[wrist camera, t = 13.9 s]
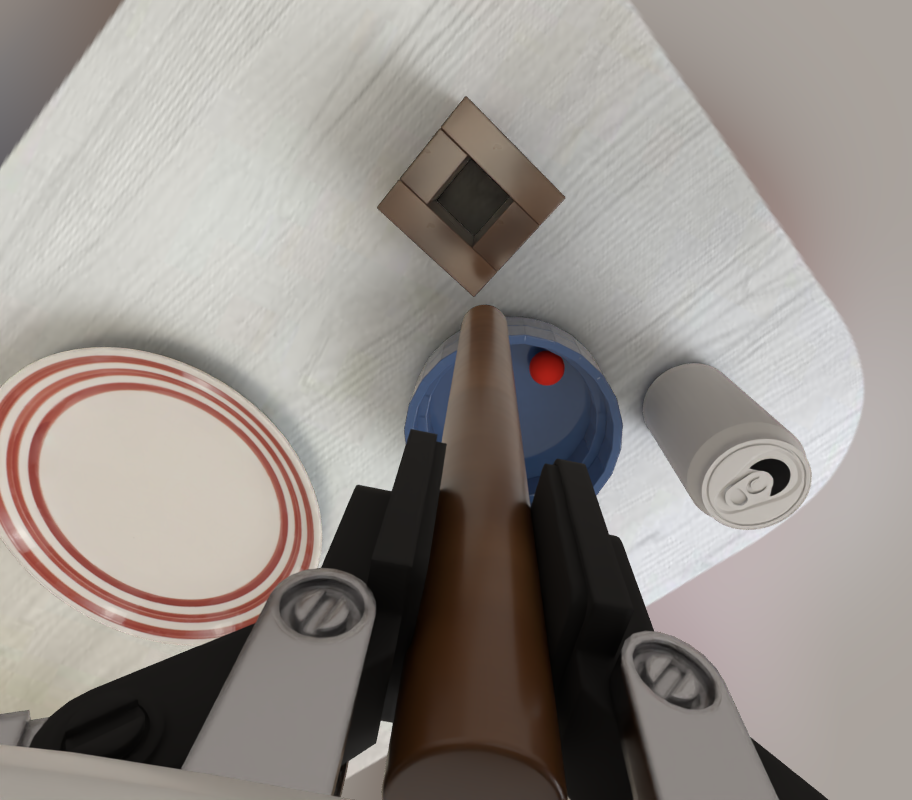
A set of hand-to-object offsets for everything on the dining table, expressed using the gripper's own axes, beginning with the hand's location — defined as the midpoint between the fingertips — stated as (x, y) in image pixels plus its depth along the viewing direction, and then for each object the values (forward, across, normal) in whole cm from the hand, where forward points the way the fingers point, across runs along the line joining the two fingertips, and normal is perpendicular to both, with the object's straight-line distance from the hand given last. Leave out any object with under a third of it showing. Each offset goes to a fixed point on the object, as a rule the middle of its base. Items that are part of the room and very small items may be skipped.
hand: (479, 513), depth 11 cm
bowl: (+29, -4, +10) cm, 31 cm away
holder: (+29, +2, -4) cm, 30 cm away
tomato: (+28, -6, +6) cm, 29 cm away
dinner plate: (+29, +22, +23) cm, 43 cm away
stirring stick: (+15, 0, 0) cm, 15 cm away
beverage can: (+29, -16, +6) cm, 34 cm away
